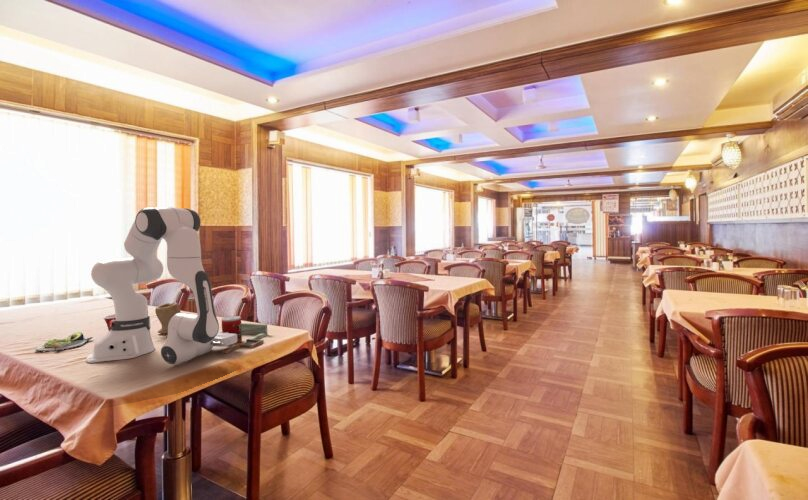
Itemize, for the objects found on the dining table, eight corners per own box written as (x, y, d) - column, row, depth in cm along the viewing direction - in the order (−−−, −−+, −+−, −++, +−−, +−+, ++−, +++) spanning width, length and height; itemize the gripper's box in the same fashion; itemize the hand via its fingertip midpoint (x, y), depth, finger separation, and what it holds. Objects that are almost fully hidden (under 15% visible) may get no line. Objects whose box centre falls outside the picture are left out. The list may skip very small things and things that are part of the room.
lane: (239, 354, 157) (238, 341, 157) (181, 350, 164) (180, 338, 164) (278, 335, 184) (278, 324, 183) (227, 332, 191) (227, 322, 191)
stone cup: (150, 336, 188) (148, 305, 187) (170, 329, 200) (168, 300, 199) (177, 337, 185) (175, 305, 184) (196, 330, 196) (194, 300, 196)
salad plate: (80, 350, 169) (80, 340, 168) (26, 356, 162) (25, 345, 161) (95, 339, 186) (95, 329, 186) (47, 344, 179) (46, 334, 179)
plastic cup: (114, 337, 188) (112, 312, 187) (138, 336, 189) (136, 311, 188) (98, 343, 177) (96, 317, 177) (124, 342, 178) (122, 316, 177)
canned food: (235, 345, 169) (234, 320, 168) (218, 344, 170) (217, 319, 170) (245, 340, 177) (244, 316, 176) (229, 339, 178) (228, 315, 177)
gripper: (223, 336, 153) (246, 327, 167) (180, 333, 159) (205, 325, 172) (224, 352, 154) (247, 342, 167) (181, 349, 159) (206, 339, 172)
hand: (225, 333), depth 170 cm, fingers closed, pressing on canned food
